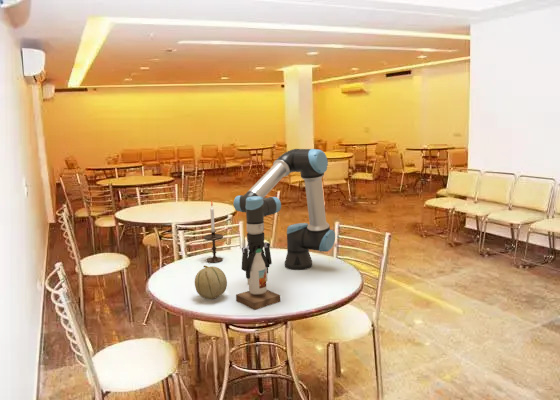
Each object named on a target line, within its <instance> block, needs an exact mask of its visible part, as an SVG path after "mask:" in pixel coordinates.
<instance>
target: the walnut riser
mask: <svg viewBox="0 0 560 400" xmlns="http://www.w3.org/2000/svg"><path fill="white" fill-rule="evenodd" d="M235 301H236V302H237V303H240V304H241V305H244V307H245V306H246V307H248V308H249V309H251V310H254V311H255V310H258V309H259V310H260V309H263V308H266V307H268V306H271V305H274V304H277V303H280V302H281V294H278V293H276V292H274V291H272V290H269V289H267V290H266V292H265V293H263V294H251V293H250V292H249V290H247V291H244V292H240V293H237V294H235Z"/></svg>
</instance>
